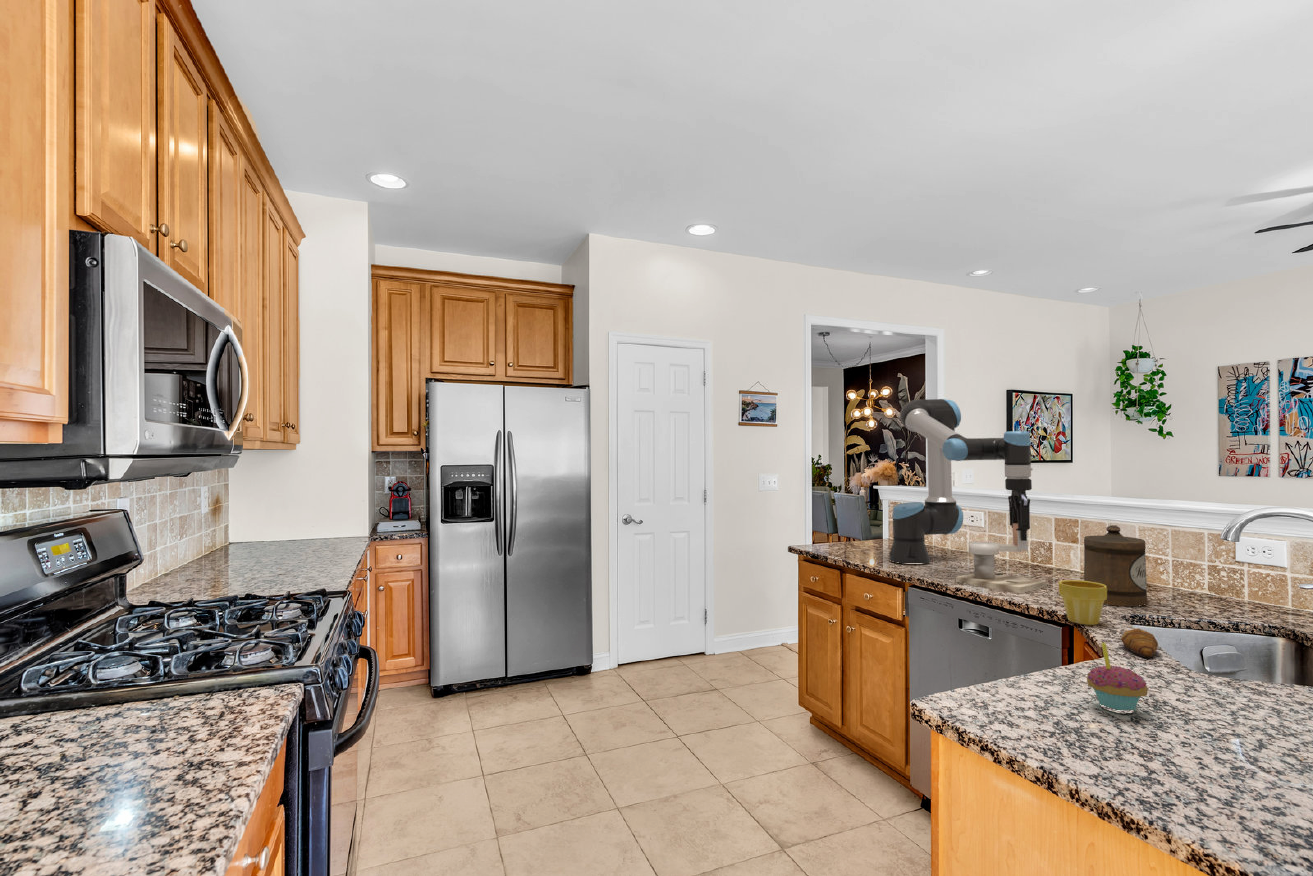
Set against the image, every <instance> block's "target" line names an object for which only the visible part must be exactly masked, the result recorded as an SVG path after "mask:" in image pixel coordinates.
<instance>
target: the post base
mask: <svg viewBox="0 0 1313 876" xmlns="http://www.w3.org/2000/svg"><path fill="white" fill-rule="evenodd" d="M973 567H974V568H973V573H968V574H962V575H957V576H956V578H955V579H956V583H957V582H962V583H966V584H965V585H967V584H970V585H969V586H973V585H974V586H973V587H978V586H982V587H981V588H984V587H986V588H985V589H990V590H997V591H1001V592H1007V591H1008V592H1007V593H1012V592H1013V593H1014V594H1018V593H1019V595H1021V594H1025V592H1026V593H1029V592H1028V591H1030V592H1034V591H1038V590H1042V589H1046V588H1048V582H1047V580H1044V579H1038V578H1030V577H1024V576H1017V575H1011V574H1006V573H1005V574H1004V573H1002V572H1001V573H997V572H995V569H996V568H995V555H980V554H973ZM1045 587H1046V588H1045ZM1041 588H1042V589H1041Z"/></svg>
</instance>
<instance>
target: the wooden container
mask: <svg viewBox="0 0 1313 876" xmlns="http://www.w3.org/2000/svg"><path fill="white" fill-rule="evenodd" d="M1105 529H1106V534H1104V535H1085V536H1084V537H1083V548H1084V549H1083V554H1084V555H1083V557H1084V558H1083V565H1084V566H1083V581H1089V582H1095V583H1100V584H1104V585H1106V586H1107V599H1106V600H1104V603H1103V605H1105V604H1108V605H1107V606H1112V605H1114V606H1113V607H1121V606H1139V605H1144V604H1147V605H1148V592H1147V591H1148V590H1147V589H1148V588H1147V587H1148V584H1147V583H1148V581H1147V579H1148V578H1147V561H1146V558H1147V557H1146V540H1145V539H1142V538H1138V537H1132V536H1131V537H1130V536H1124V535H1123V534H1121V533H1120V532H1121V527H1119V526H1118V525H1114V524H1113V525H1108V526H1106V527H1105ZM1144 606H1145V605H1144Z"/></svg>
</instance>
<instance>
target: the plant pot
mask: <svg viewBox="0 0 1313 876" xmlns="http://www.w3.org/2000/svg"><path fill="white" fill-rule="evenodd" d="M1058 595H1059V596H1061V598H1062V601H1063V606H1064V610H1065V614H1066V617H1067V620H1068V621H1069V622H1072V623H1073V624H1078V625H1086V626H1095V625H1098V624H1100V619H1101V615H1102V611H1103V606H1104V604H1103V603H1104V600H1106V599H1107V586H1106V585H1104V584H1100V583H1095V582H1089V581H1084V580H1077V579H1076V580H1075V579H1071V580H1069V579H1065V580H1060V581H1058Z"/></svg>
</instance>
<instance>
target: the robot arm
mask: <svg viewBox="0 0 1313 876" xmlns="http://www.w3.org/2000/svg"><path fill="white" fill-rule="evenodd" d="M960 409H961V408H960V407H959V406H958V404H957V403H956V402H955V401H954V400H951V399H945V398H939V399H938V398H937V399H936V398H935V399H933V398H932V399H913V400H910V401H908V402H906V403H905V404H904V405H903V406H902V407H901V409H900V411H899V413H900V414H899V421H900V422H901V425H903V427H905V428H906V429H907V430H908V431H910V432H914V433H918V434H919V435H921V436H922V437H923V438H925V439H926V440H927V444H926V445H927V479H928V484H927V485H928V489H927V490H928V497H926V498H925V499H924V503H923V502H921V501H914V502H913V501H911V502H909V501H908V502H901V503H899V504H895V505H894V506H893V508H892V515H891V517H892V536H893V537H892V539H893V540H892V545H891V548H890V552H889V555H888V560H889V559H890V560H891V561H894V562H899V563H929V562H930V563H931V557H930V554H929V551H928V549H927V545H926V541H925V540H926V539H925V535H927V536H929V535H930V536H932V535H944V536H945V535H950V534H956V533H958V532H959V530H960V529H961V528H962V526H963V524H964V512H963V511H962V507H961V506H959V505H958V504H957V500H956V499H955V498H954V497H953V495H952V494H953V485H952V483H953V482H952V481H953V480H952V461H954V462H962V461H964V462H965V461H1001V460H1002V461H1004V477H1005V480H1004V482H1005V486H1004V487H1005V490H1007V491H1011V495H1008V497H1007V498H1008V509H1009V510H1008V512H1009V525H1010V526H1011V528H1012V531H1013V523H1018V529H1016V530H1017V538H1018V551H1021V552H1022V551H1023V552H1028V550H1029V549H1028V547H1029V545H1028V544H1029V543H1028V542H1029V540H1028V531H1029V530H1030V529H1031V519H1030V518H1031V514H1030V513H1031V511H1030V508H1031V507H1030V505H1031V504H1030V503H1031V499H1030V498H1028V496H1027V491H1031V490H1032V489H1033V488H1032V487H1033V486H1032V479H1031V477H1032V471H1033V467H1032V457H1031V456H1032V455H1031V454H1032V453H1031V451H1032V450H1031V447H1032V445H1031V444H1032V442H1031V438H1030V437H1031V435H1030V433H1029V431H1025V430H1017V431H1016V430H1015V431H1013V430H1012V431H1005V432H1004V433H1003V437H985V438H984V437H981V438H978V437H977V438H975V437H973V438H971V437H970V438H969V437H965V436H963V435H961V434H959V433H958V432H956V431H955V429H956V428H958V427H959V425H960V423H961V421H962V413H961V410H960ZM930 563H929V564H930Z"/></svg>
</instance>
